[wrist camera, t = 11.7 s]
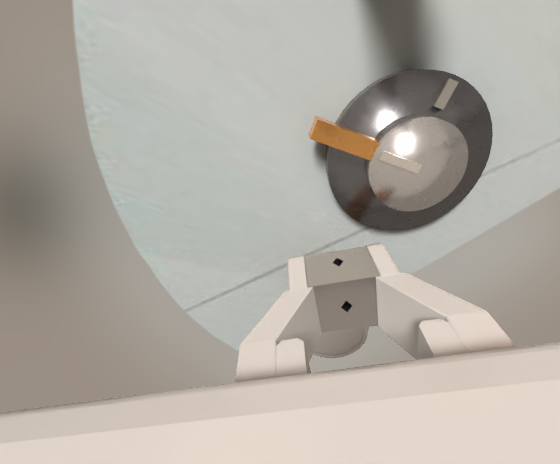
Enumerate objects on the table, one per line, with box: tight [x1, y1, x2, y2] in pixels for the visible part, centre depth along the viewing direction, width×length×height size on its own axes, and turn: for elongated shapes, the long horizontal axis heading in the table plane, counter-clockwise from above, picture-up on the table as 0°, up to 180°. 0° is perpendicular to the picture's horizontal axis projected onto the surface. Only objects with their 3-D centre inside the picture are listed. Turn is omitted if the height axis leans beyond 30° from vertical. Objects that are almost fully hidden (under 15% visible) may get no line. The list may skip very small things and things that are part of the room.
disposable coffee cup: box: [313, 327, 368, 358], centre depth 44 cm, size 10×10×12 cm
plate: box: [326, 69, 492, 230], centre depth 38 cm, size 20×20×2 cm
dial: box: [309, 114, 468, 211], centre depth 35 cm, size 18×11×3 cm, turn 71°
